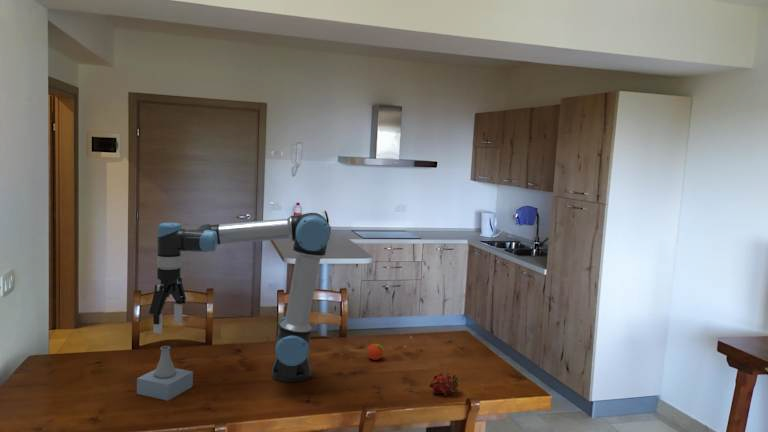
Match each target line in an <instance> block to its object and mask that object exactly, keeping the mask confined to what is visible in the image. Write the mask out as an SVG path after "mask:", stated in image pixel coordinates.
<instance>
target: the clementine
mask: <svg viewBox="0 0 768 432" xmlns="http://www.w3.org/2000/svg"><path fill="white" fill-rule="evenodd" d="M366 350H367V351H366V354H367V357H368V358H369V359H371V360H373V361H376V360H379V359H381V358H382V356H383V354H384V352H385V350H384V348H383V346H382V345H380V344H379V343H371V344H370V345H368V346H367V349H366Z"/></svg>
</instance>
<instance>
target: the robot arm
mask: <svg viewBox="0 0 768 432" xmlns="http://www.w3.org/2000/svg"><path fill="white" fill-rule="evenodd" d="M157 228H158V229H157V237H156V238H157V257H156V260H157V265H156V266H157V267H158V268H157V269H156V273H157V274H156V277H157V279H158V280H160V284H154V292H153V295H152V296H153V297H152V300H151V303H150V308H149V312H148V314H149V315H153V319H152V320H153V321H152V322H153V325H152V326H153V334H163V314H162V311H163V308H164V305H165V304H166V301H167V299H168V298H169V297H170V295H171V296H172V298H173V300H174V302H175V303H174V306H173V310H174V311H173V322H175V323H176V322H177V323H183V304H184V305H185V304H186V300H187V296H186V293H185V290H184V287H183V277H181V270H182V269H181V266H182V265H181V264H182V263H181V262H182V258H181V256H182V252H200V253H201V252H202V253H203V252H204V253H207V252H212V253H213V252H215V251H216V250H217V247H218V245H226V244H227V245H228V244H239V243H253V242H265V241H279V240H287V239H289V240H290V241H292V242H294V243H293V249H292V251H293V252H294V254H295V261H294V267H293V270H292V271H293V273H292V279H291V284H290V289H289V295H288V300H287V306H286V312H285V315H284V316H282V317H280V318H279V319H278V323H277V338H276V345H275V347H274V352H275V355H276V358H275V359H274V360H275V361H274V363H273V366H272V368H271V377H272V378H273V379H274V380H276V381H280V382H283V383H298V382H299V383H300V382H303V381H306V380H308V379H310V378H311V376H312V367H311V363H310V360H309V357H308V355H309V353H310V341H311V335H312V329H313V327H312V326H311V324H310V318H311V311H312V307H313V301H314V296H315V295H314V294H315V291H316V284H317V279H318V272H319V268H320V263H321V259H322V258H324V257H325V256H326V253H327V247H328V243H329V241H330V238H331V229H330V226H329V223H328V221H327V219H326V218H325V217H324V216H323V215H322V214H320V213H317V212H306V213H302V214H295V215H289V217H288V218H281V219H271V220H269V219H268V220H258V221H257V220H256V221H255V220H254V221H245V222H244V221H242V222H232V223H231V222H229V223H220V224H210V223H205V224H202V225H200V226H199V227H198V228H196V229H184V228H182V225H181V223H178V222H162V223H160V224H158V227H157Z"/></svg>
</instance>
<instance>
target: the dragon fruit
mask: <svg viewBox="0 0 768 432" xmlns="http://www.w3.org/2000/svg"><path fill="white" fill-rule="evenodd" d="M458 383H459V379H458V378H457V377H456V375H455V374H450V373H449V372H447V371H446V373H444V372H440V373H438V374H437V375H434V376H433V378H432V381H431V382H430V384H429V388H430V389H431V388H432V390H431V391H432V393H434V394H438V395H440V394H444V396H448V395H449V394H452V393H454V392H455V391H457V390H458V386H459V384H458Z"/></svg>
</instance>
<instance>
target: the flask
mask: <svg viewBox="0 0 768 432" xmlns="http://www.w3.org/2000/svg"><path fill="white" fill-rule="evenodd" d="M159 349H160V358H159V361H158V363H157V366H156V368H155V369H156V370H155V369H154V370H155V372H154V375H153V376H155V377H157V378H169V377H171V376H174V375H175V374H176V370H175V366H174V363H173V361H172V358H171V353H170V350H171V349H172V348H171V346H170V345H164V346H161V347H160V348H159Z"/></svg>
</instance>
